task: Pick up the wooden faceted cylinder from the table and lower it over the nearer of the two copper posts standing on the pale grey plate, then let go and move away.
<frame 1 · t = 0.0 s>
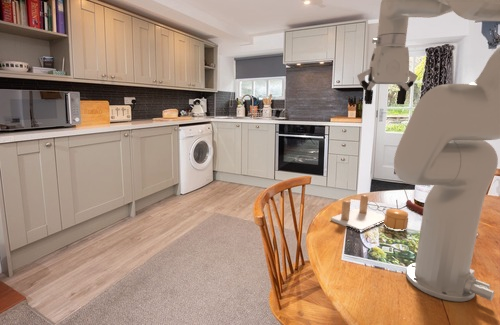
hand: (384, 104, 87), 37 cm above the table, tool pointing down, fingers open, 9 cm apart
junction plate: (360, 220, 96), on the table
wooden faceted cylinder: (395, 227, 91), on the table
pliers: (424, 215, 102), on the table
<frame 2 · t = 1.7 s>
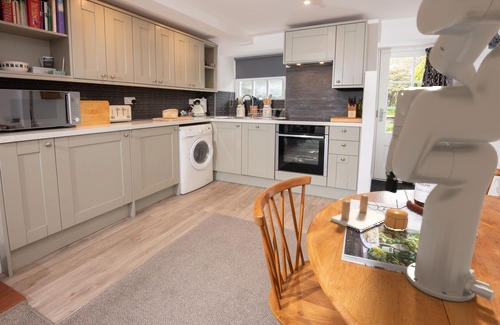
hand: (399, 188, 89), 12 cm above the table, tool pointing down, fingers open, 9 cm apart
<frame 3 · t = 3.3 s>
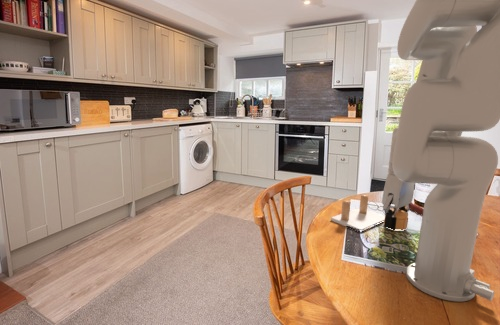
hand: (395, 225, 90), 1 cm above the table, tool pointing down, fingers closed on wooden faceted cylinder, 6 cm apart
wooden faceted cylinder: (395, 227, 91), on the table, touching gripper
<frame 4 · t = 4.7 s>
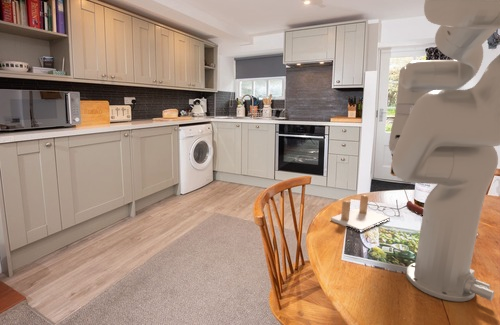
hand: (402, 172, 86), 18 cm above the table, tool pointing down, fingers closed on wooden faceted cylinder, 6 cm apart
wooden faceted cylinder: (402, 175, 86), point 17 cm above the table, touching gripper
everything else where it was.
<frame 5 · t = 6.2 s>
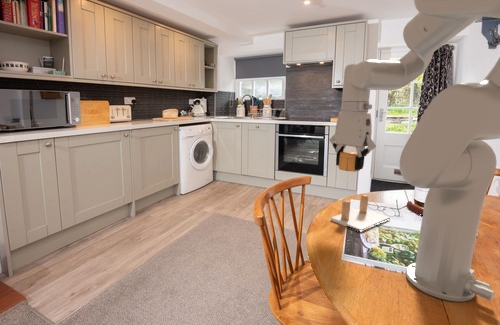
hand: (349, 166, 90), 18 cm above the table, tool pointing down, fingers closed on wooden faceted cylinder, 6 cm apart
wooden faceted cylinder: (348, 169, 91), point 17 cm above the table, touching gripper
when the fingers open (5 cm above the table, at t = 8.6 s): wooden faceted cylinder drops 1 cm, resting on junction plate.
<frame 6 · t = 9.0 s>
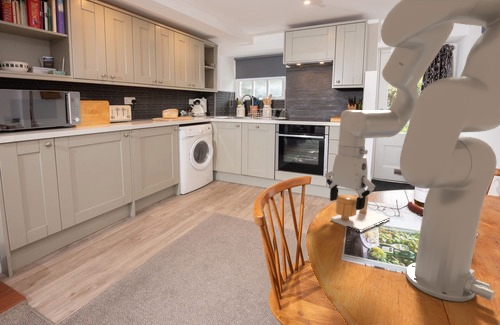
hand: (346, 204, 93), 6 cm above the table, tool pointing down, fingers open, 9 cm apart
wooden faceted cylinder: (345, 212, 93), point 3 cm above the table, touching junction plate
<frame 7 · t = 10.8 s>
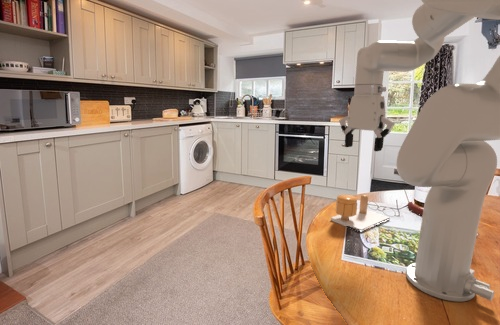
hand: (362, 148, 90), 24 cm above the table, tool pointing down, fingers open, 9 cm apart
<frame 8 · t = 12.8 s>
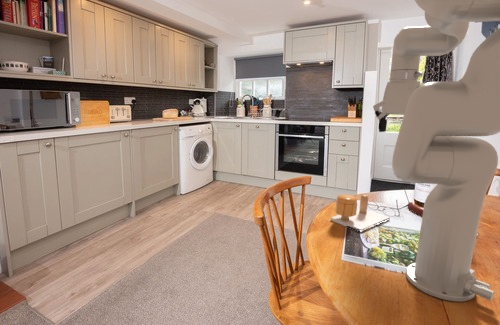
hand: (396, 133, 93), 28 cm above the table, tool pointing down, fingers open, 9 cm apart
at the end: wooden faceted cylinder 0.0 cm from the target spot on the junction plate, point 3.2 cm above the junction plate's base; wooden faceted cylinder tilted 1°; the gripper is holding nothing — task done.
